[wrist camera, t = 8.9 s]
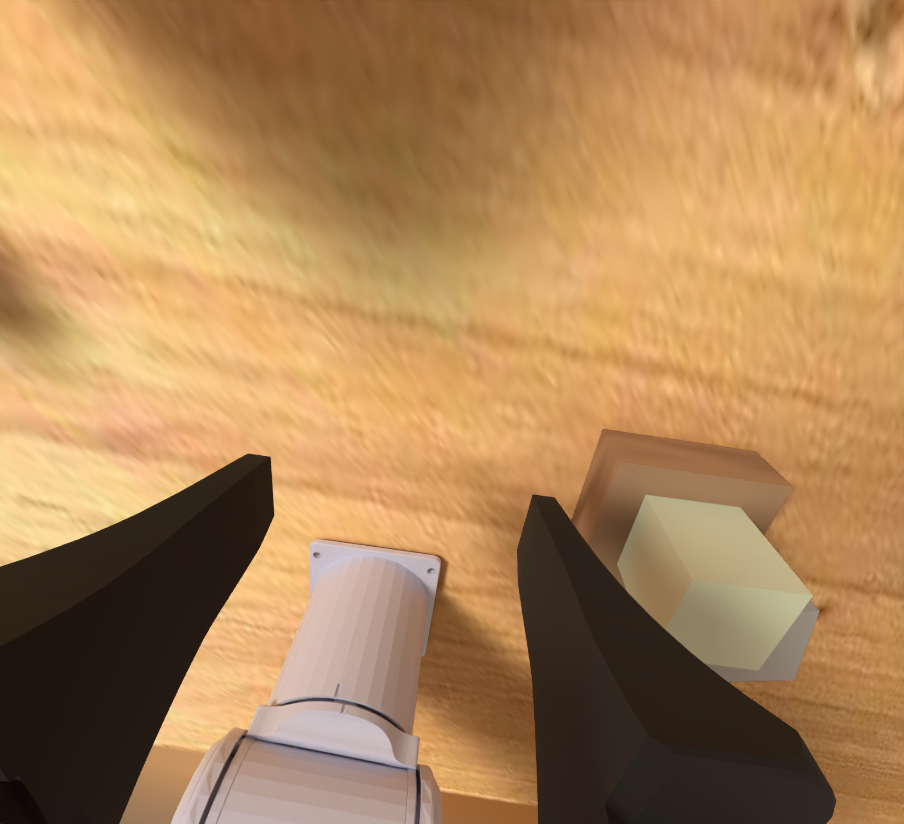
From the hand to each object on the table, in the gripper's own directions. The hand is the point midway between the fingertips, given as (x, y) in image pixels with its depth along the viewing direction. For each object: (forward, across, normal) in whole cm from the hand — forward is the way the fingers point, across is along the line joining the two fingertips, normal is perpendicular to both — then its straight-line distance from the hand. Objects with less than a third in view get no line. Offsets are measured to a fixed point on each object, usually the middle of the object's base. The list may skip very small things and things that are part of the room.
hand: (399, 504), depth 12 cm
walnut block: (+10, -13, +6) cm, 18 cm away
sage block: (+7, -13, +6) cm, 16 cm away
